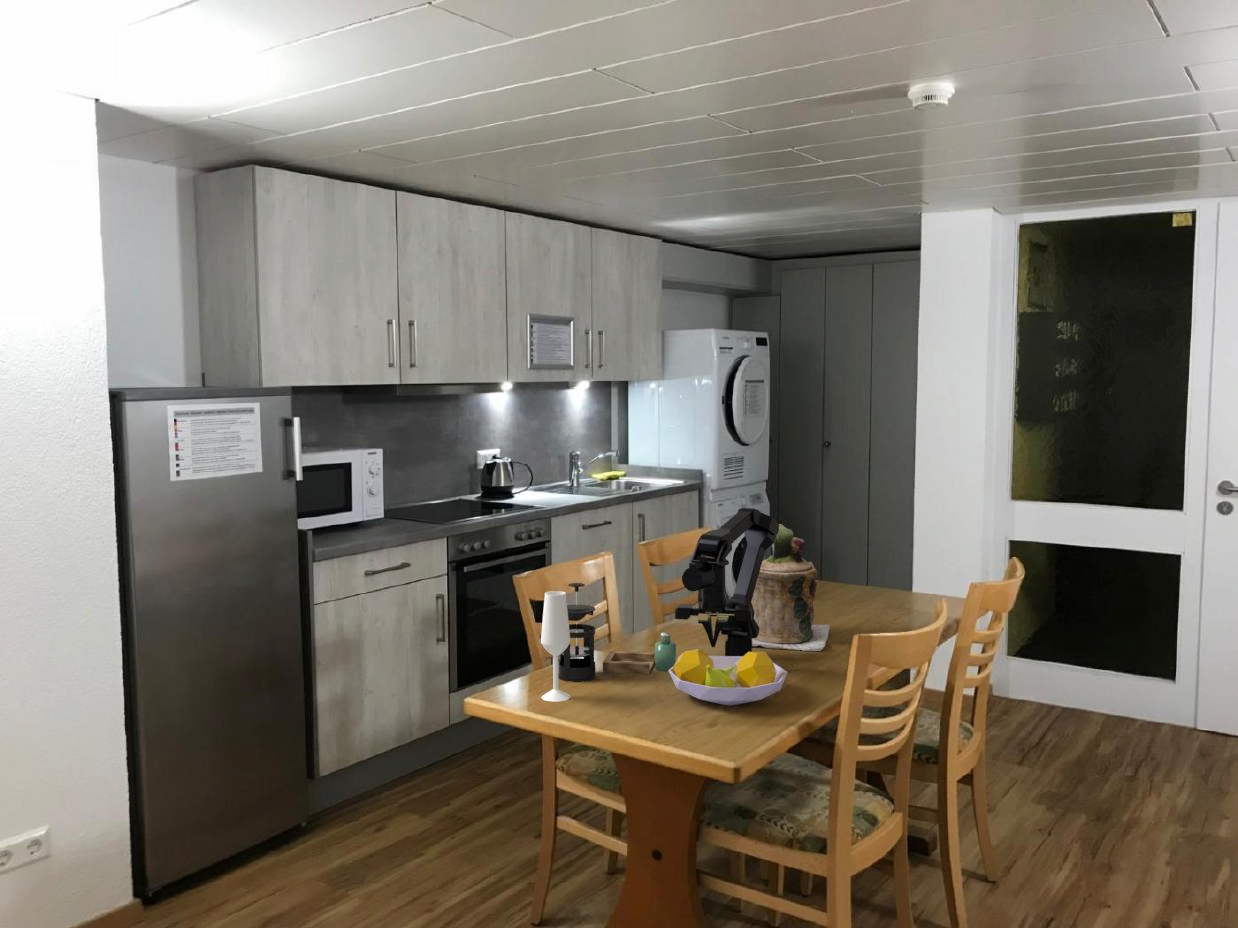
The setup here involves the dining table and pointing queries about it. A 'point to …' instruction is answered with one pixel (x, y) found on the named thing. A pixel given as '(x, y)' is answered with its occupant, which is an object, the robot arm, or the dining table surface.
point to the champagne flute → (555, 637)
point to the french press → (578, 666)
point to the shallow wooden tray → (628, 662)
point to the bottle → (665, 653)
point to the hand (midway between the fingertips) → (713, 646)
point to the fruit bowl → (727, 677)
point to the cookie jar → (787, 599)
